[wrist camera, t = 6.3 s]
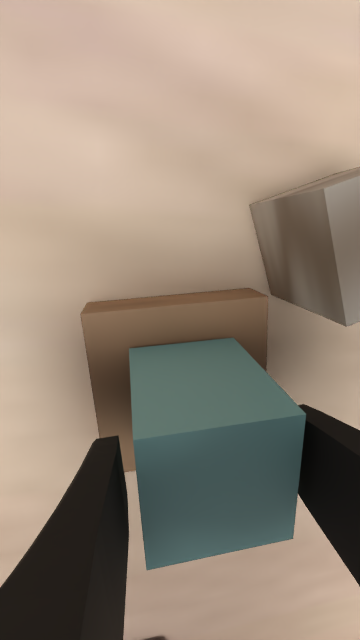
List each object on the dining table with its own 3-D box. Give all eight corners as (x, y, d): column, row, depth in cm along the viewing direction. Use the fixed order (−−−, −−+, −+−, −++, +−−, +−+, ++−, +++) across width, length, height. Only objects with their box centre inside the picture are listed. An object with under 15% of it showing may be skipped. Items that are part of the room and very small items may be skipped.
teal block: (232, 424, 13) (292, 538, 8) (137, 438, 12) (146, 570, 8) (233, 337, 12) (306, 414, 7) (128, 348, 11) (132, 440, 6)
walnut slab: (244, 417, 16) (263, 448, 14) (108, 438, 15) (105, 475, 13) (245, 286, 14) (268, 296, 12) (88, 299, 13) (80, 314, 11)
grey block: (349, 263, 14) (463, 280, 9) (270, 294, 14) (346, 326, 9) (336, 173, 13) (459, 139, 8) (248, 204, 13) (323, 188, 8)
